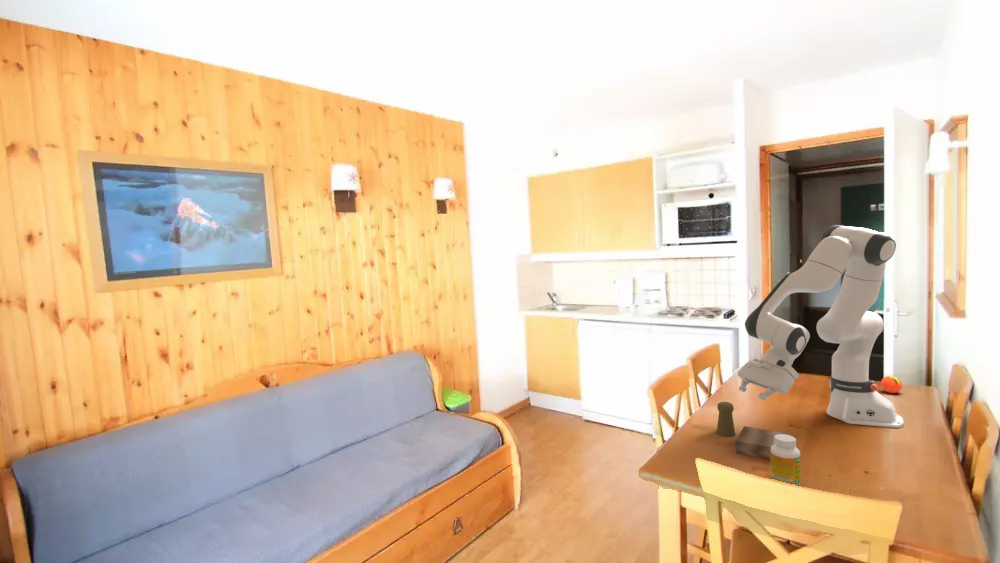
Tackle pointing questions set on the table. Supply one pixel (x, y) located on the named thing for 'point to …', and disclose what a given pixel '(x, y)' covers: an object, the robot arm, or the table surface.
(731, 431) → the olive pawn
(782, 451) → the supplement bottle
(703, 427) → the table surface
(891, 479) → the table surface
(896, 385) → the clementine
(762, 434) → the walnut plinth
